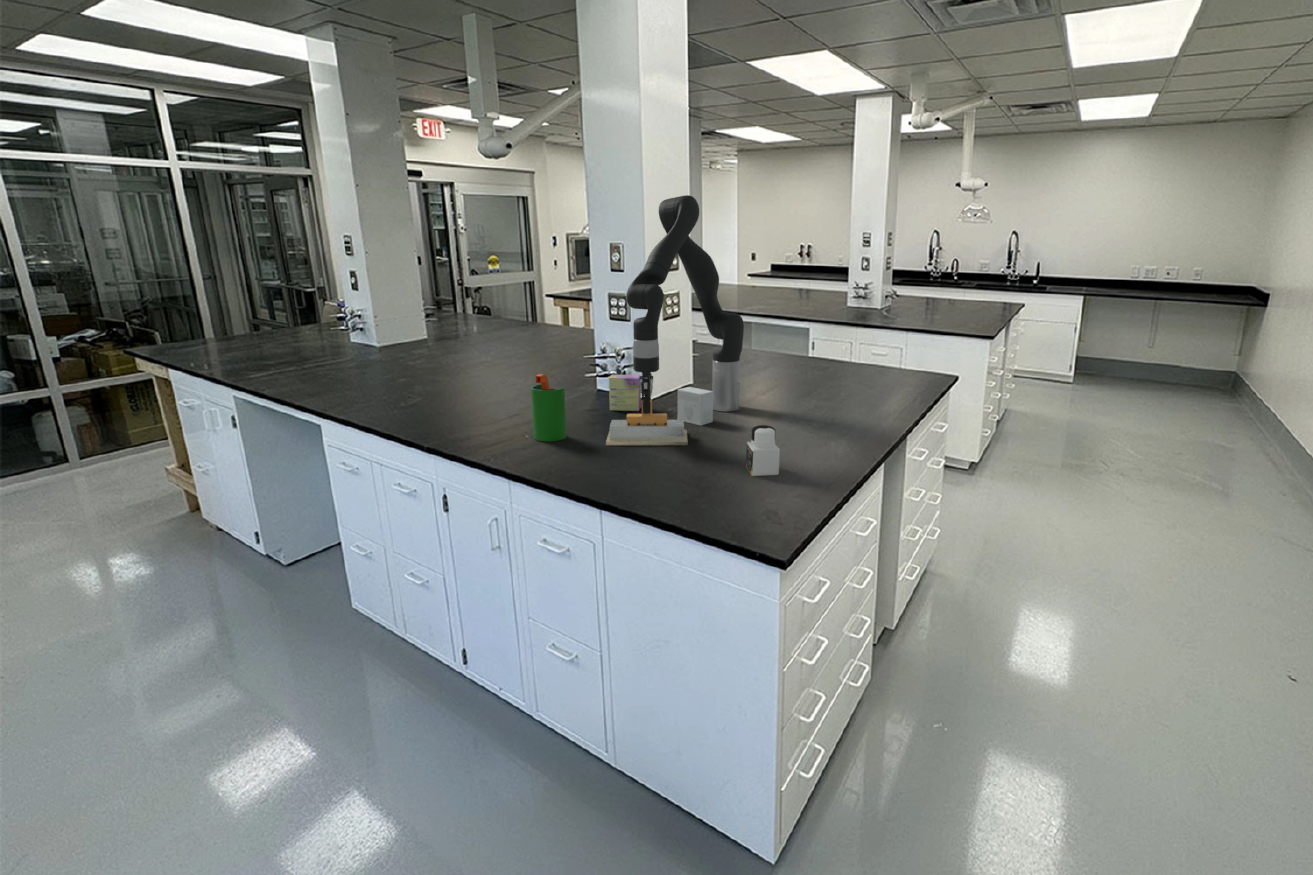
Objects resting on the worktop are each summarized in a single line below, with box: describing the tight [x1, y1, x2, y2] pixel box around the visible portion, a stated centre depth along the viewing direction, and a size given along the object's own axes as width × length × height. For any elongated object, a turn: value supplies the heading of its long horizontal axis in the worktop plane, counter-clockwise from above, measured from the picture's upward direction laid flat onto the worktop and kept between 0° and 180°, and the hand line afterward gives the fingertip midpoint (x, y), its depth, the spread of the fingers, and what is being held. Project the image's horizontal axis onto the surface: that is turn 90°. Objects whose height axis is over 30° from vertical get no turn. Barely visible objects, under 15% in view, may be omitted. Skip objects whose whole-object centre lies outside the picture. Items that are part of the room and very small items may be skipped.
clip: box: [626, 398, 668, 425], centre depth 195 cm, size 12×3×11 cm, turn 89°
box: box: [608, 374, 642, 412], centre depth 228 cm, size 10×6×12 cm, turn 84°
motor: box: [530, 373, 567, 442], centre depth 197 cm, size 10×9×20 cm
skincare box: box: [676, 386, 714, 427], centre depth 213 cm, size 10×6×10 cm, turn 47°
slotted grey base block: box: [605, 419, 689, 446], centre depth 196 cm, size 24×12×5 cm, turn 89°
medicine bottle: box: [745, 424, 781, 477], centre depth 169 cm, size 7×7×12 cm
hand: (647, 410), depth 194 cm, fingers open, 4 cm apart
